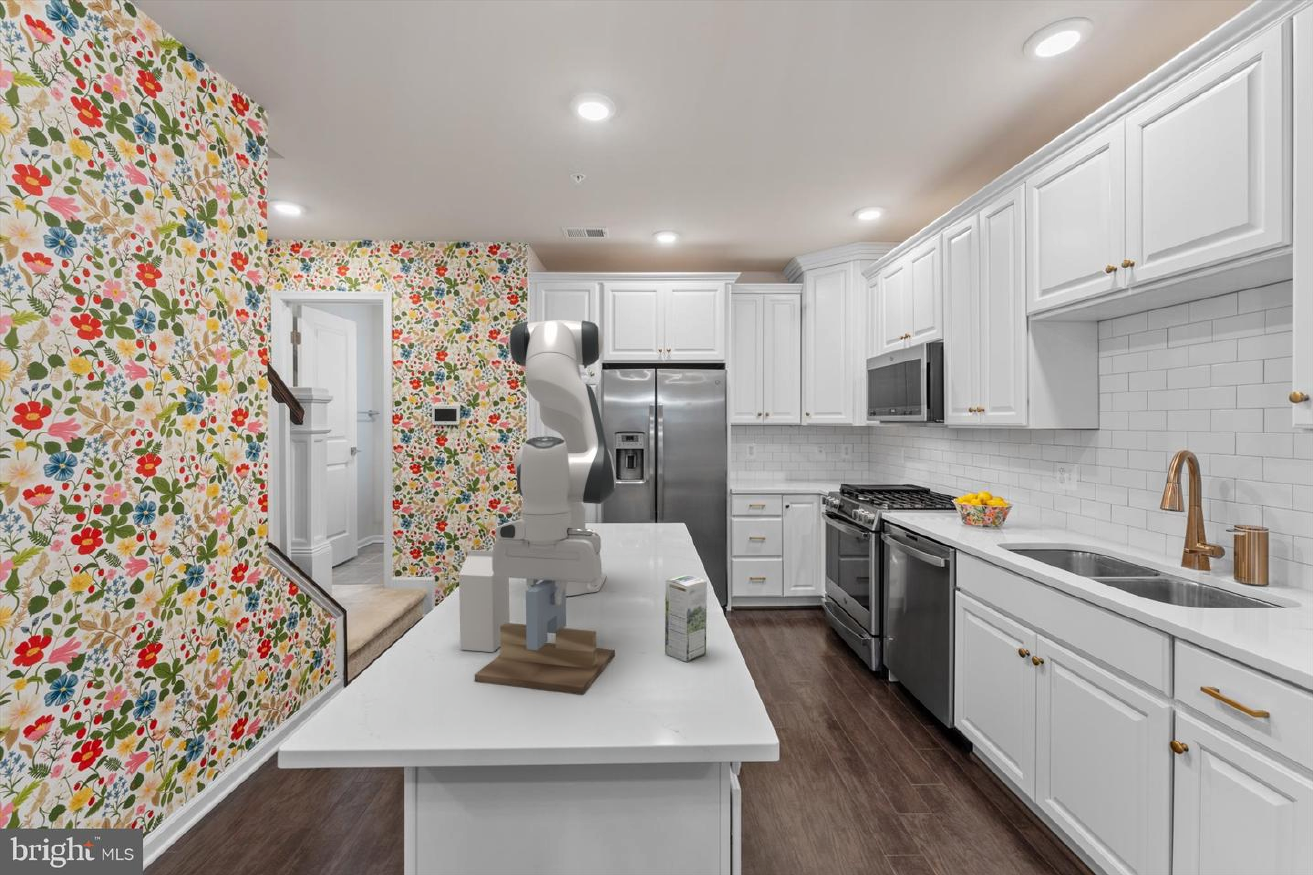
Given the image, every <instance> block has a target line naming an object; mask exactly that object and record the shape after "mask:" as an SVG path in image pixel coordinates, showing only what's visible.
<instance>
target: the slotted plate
mask: <svg viewBox="0 0 1313 875" xmlns="http://www.w3.org/2000/svg"><path fill="white" fill-rule="evenodd" d="M557 589H558V587H556V586H555V581H551V580H544V581H542V582H540V583H539V584H537V585H535V586H534V587H532V588H530V589H529V588H528V589H527V590H525V616H526V617H525V622H526V623H525V625H526V642H527V649H530V650H538V649H539V648H541V647H542V646H543V645H544V644H545V643H549V641H548V640H549V639H548V634H555V632H556V631H557V630H558V629H559V628H567V598H566V597H567V596H566V587H565V589H564V591H563V593H562V601H561V604H559V605H551V604H550V601H551V600H550V595H552V594H553V593H556V591H557Z"/></svg>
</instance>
